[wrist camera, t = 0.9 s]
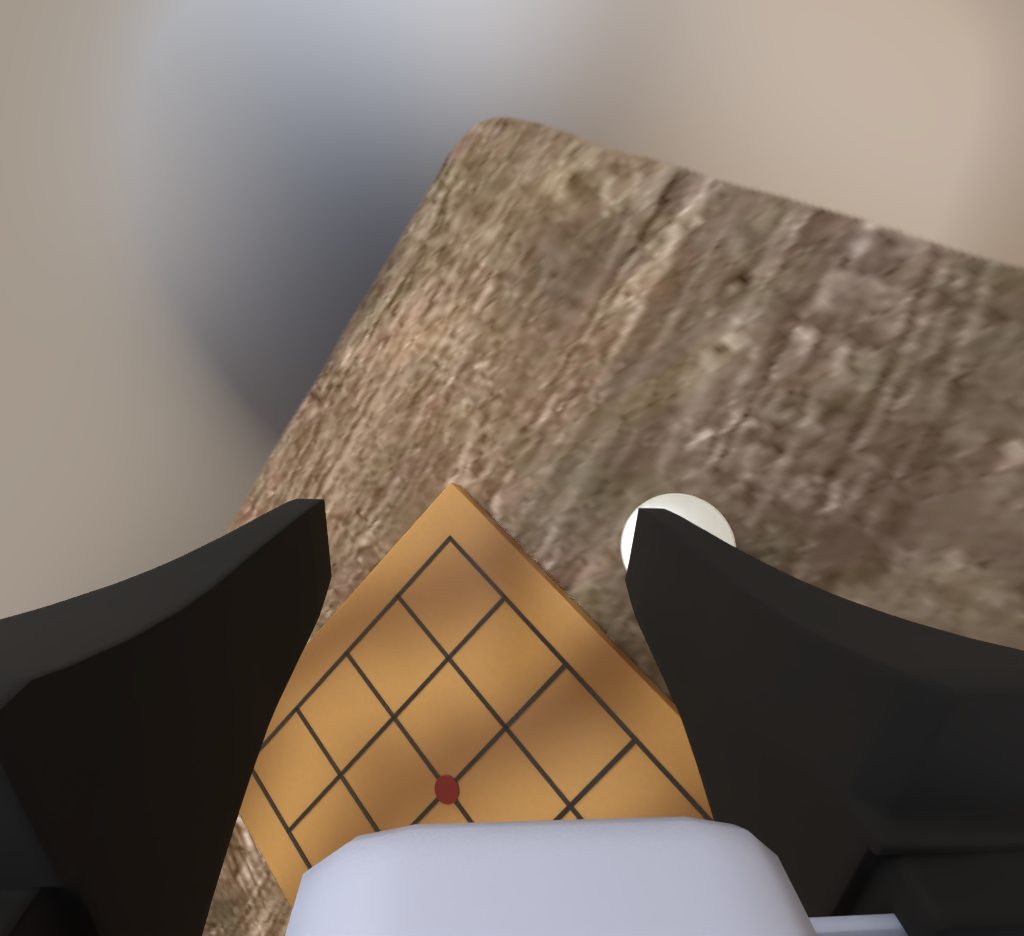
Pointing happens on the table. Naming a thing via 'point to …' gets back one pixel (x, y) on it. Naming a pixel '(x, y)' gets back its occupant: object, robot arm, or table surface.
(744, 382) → the table surface
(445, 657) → the game board
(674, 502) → the white stone
